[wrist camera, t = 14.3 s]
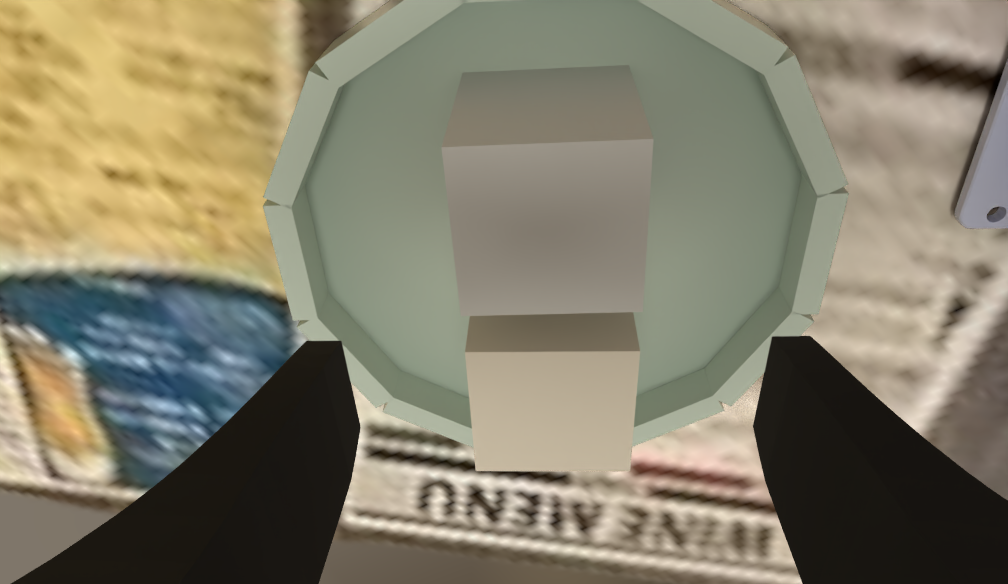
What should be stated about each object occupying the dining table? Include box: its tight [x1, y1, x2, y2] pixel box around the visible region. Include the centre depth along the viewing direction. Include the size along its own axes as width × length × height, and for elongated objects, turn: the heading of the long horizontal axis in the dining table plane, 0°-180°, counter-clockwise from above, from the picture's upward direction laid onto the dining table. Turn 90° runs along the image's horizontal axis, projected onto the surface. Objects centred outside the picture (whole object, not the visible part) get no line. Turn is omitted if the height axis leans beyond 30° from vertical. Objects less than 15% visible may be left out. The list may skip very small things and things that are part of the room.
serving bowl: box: [263, 0, 849, 448], centre depth 22 cm, size 16×16×2 cm
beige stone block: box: [465, 312, 640, 471], centre depth 21 cm, size 4×4×5 cm
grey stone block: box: [441, 65, 654, 316], centre depth 18 cm, size 4×4×5 cm
